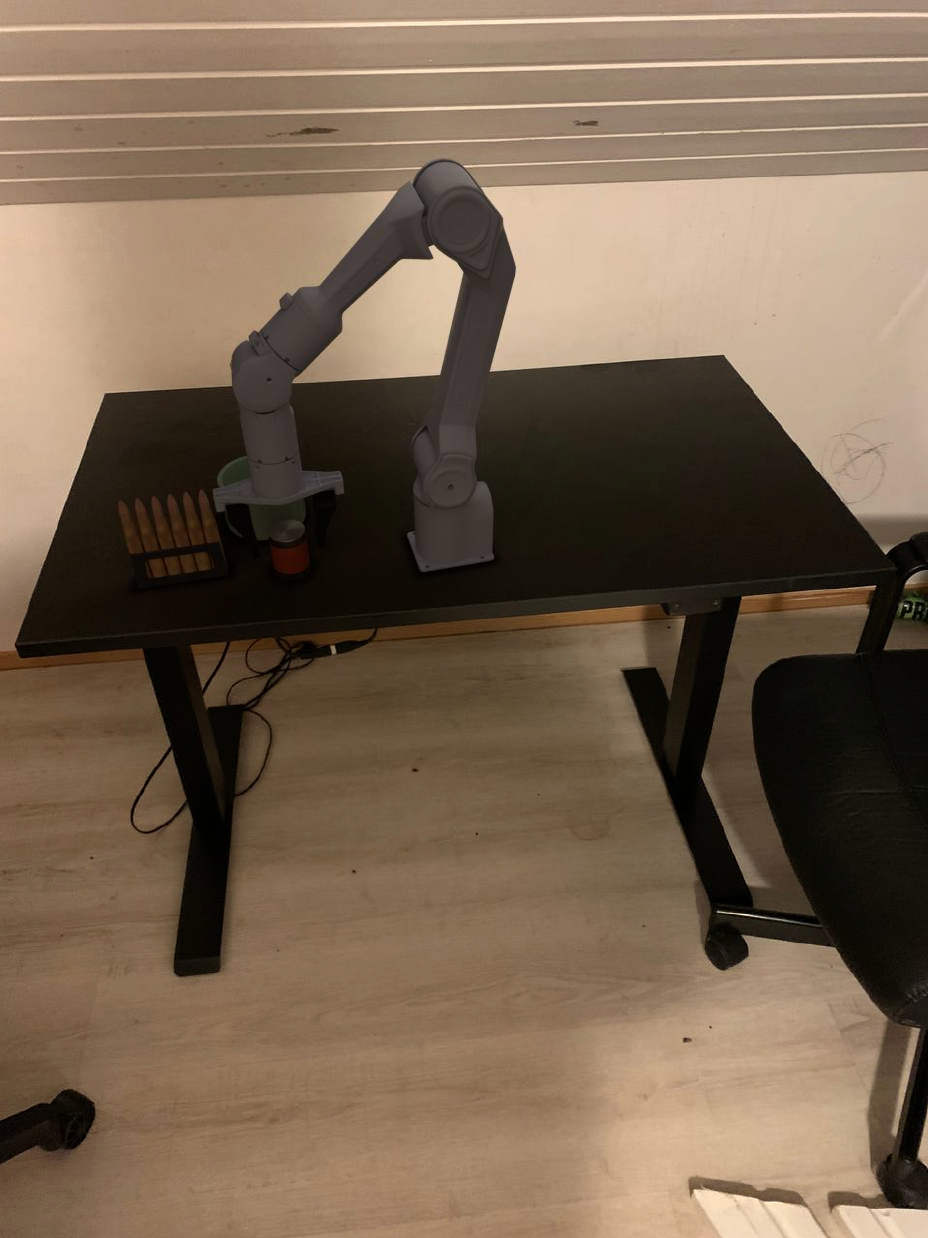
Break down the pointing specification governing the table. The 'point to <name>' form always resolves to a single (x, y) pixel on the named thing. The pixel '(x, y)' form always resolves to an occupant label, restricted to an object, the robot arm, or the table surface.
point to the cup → (259, 513)
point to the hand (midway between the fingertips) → (288, 548)
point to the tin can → (289, 550)
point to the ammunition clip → (173, 543)
